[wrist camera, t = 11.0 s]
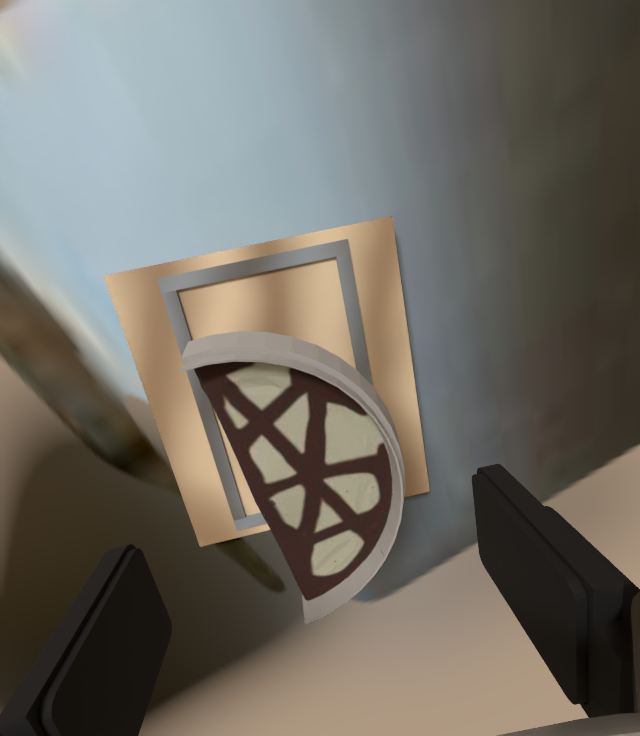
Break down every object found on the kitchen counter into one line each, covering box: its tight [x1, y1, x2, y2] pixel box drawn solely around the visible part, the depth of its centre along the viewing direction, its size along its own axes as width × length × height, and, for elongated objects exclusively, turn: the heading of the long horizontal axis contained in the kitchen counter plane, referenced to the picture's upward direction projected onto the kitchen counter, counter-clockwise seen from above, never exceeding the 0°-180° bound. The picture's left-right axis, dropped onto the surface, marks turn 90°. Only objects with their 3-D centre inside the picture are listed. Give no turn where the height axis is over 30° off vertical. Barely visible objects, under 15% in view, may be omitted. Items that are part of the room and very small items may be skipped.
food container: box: [180, 331, 405, 625], centre depth 18 cm, size 12×6×10 cm, turn 20°
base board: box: [104, 216, 430, 547], centre depth 23 cm, size 16×18×2 cm
